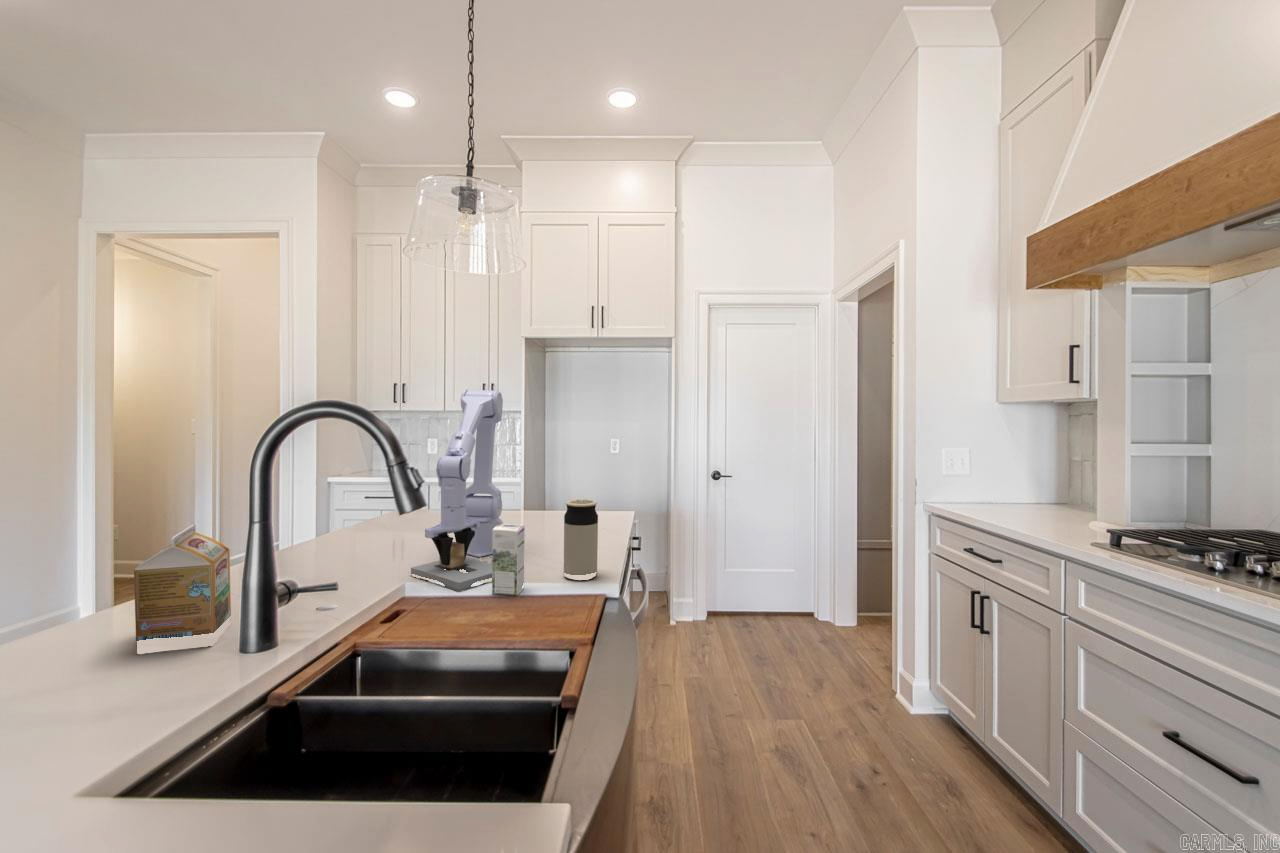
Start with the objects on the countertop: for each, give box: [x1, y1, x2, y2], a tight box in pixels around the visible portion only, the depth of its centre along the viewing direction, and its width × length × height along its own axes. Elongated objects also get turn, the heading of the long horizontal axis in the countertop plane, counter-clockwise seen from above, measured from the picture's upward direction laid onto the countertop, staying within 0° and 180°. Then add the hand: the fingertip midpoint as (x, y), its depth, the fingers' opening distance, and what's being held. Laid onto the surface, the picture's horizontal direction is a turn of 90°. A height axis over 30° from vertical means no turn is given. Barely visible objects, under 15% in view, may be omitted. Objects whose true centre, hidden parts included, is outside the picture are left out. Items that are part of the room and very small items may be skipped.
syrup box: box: [491, 523, 526, 596], centre depth 132 cm, size 6×6×14 cm
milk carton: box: [133, 524, 232, 642], centre depth 104 cm, size 11×11×19 cm
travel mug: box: [563, 498, 599, 575], centre depth 143 cm, size 8×8×18 cm
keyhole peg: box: [439, 541, 465, 571], centre depth 144 cm, size 4×4×6 cm
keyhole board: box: [410, 556, 492, 593], centre depth 142 cm, size 14×18×2 cm
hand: (453, 562), depth 143 cm, fingers closed on keyhole peg, 4 cm apart
